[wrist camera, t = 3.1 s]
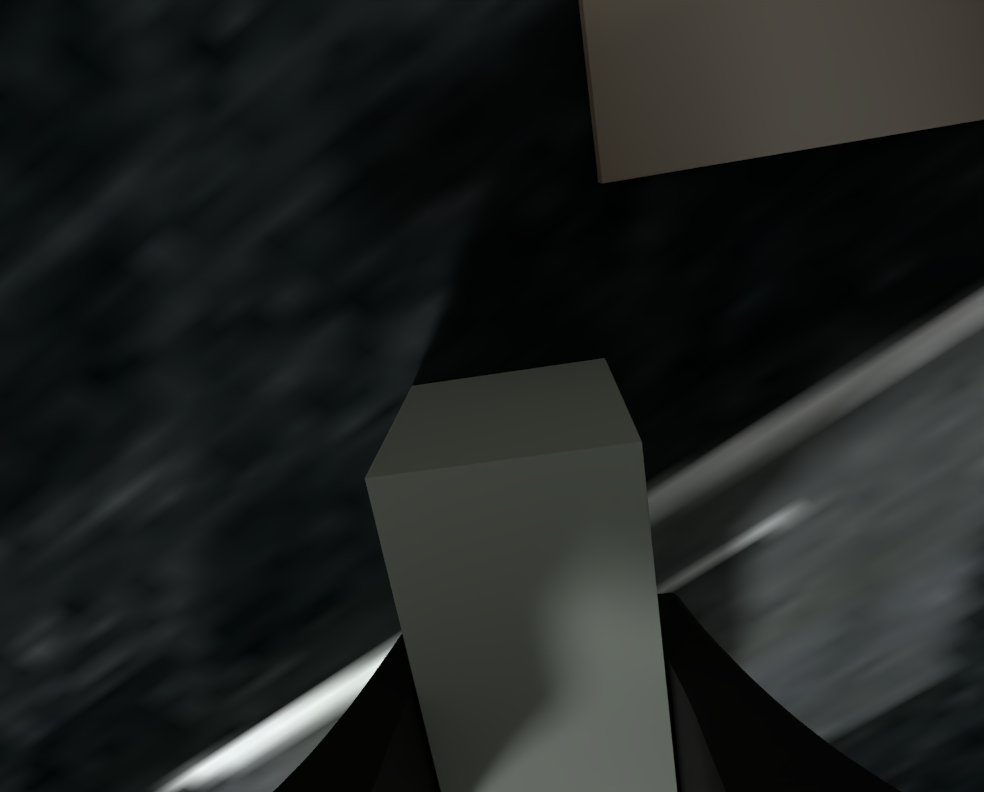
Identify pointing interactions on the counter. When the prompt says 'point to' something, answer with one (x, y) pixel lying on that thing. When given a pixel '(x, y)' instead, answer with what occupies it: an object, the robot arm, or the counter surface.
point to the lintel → (527, 581)
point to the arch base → (771, 76)
